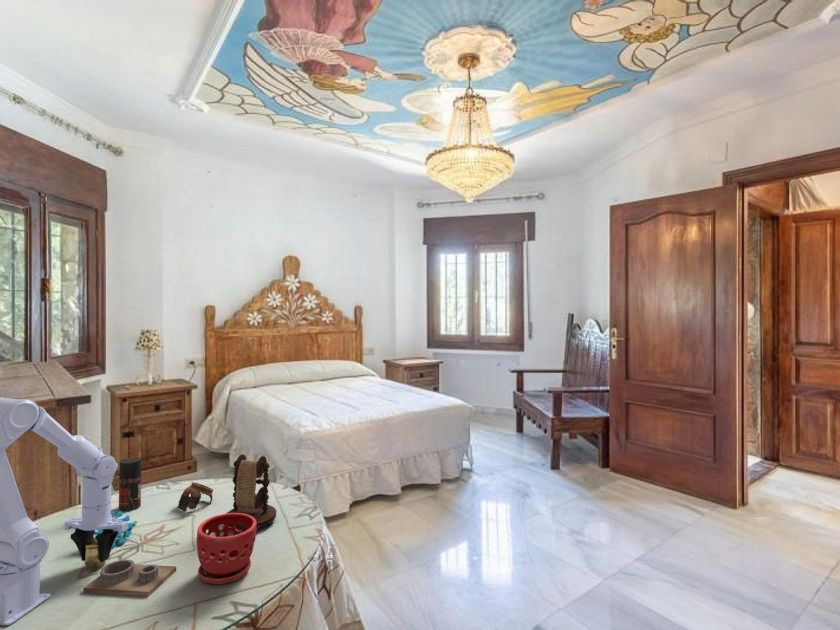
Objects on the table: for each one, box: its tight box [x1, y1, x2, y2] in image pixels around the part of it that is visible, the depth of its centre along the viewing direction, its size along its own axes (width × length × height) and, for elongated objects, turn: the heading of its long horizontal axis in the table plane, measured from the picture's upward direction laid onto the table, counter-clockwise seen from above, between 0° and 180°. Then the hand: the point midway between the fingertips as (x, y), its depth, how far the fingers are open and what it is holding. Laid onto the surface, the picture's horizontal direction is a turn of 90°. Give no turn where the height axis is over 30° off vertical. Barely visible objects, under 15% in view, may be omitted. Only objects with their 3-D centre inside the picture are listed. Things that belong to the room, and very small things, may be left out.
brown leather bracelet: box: [177, 482, 214, 512], centre depth 144 cm, size 12×10×8 cm
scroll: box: [225, 453, 277, 533], centre depth 133 cm, size 15×15×20 cm
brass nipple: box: [84, 538, 106, 572], centre depth 109 cm, size 4×4×6 cm
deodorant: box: [118, 457, 143, 513], centre depth 142 cm, size 6×6×15 cm
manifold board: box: [83, 559, 177, 597], centre depth 103 cm, size 10×15×3 cm, turn 86°
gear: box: [93, 510, 138, 549], centre depth 121 cm, size 11×6×10 cm
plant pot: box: [196, 512, 257, 585], centre depth 107 cm, size 13×13×12 cm
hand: (95, 559), depth 109 cm, fingers closed on brass nipple, 4 cm apart
